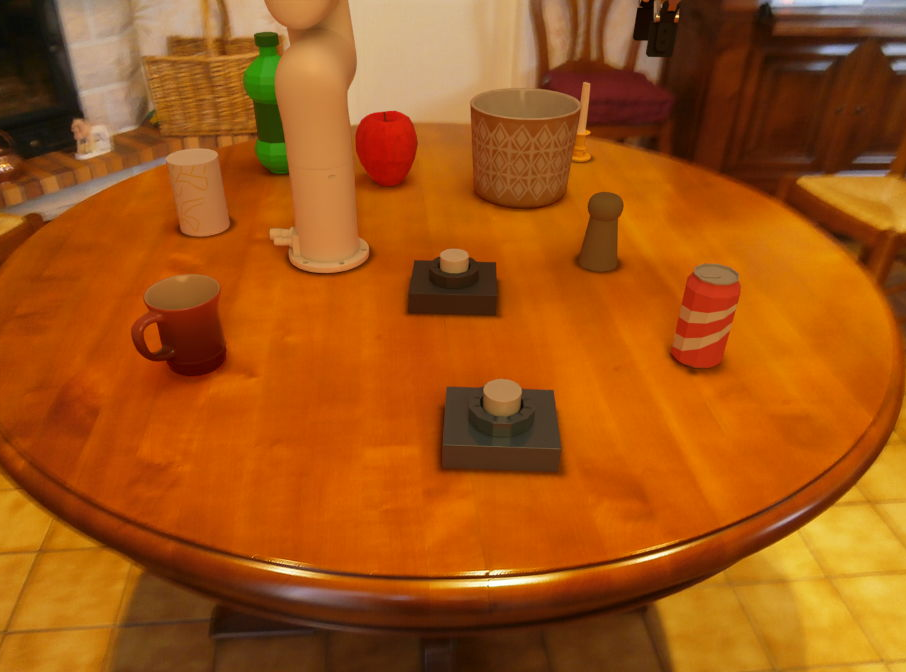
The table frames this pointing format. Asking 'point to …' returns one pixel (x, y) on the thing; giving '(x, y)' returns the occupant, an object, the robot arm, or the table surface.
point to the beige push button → (502, 397)
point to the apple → (386, 146)
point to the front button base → (501, 433)
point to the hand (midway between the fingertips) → (651, 48)
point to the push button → (454, 261)
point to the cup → (198, 191)
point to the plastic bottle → (266, 104)
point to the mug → (184, 324)
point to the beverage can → (706, 315)
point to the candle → (582, 128)
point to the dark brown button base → (453, 289)
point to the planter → (523, 145)
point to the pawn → (601, 232)
